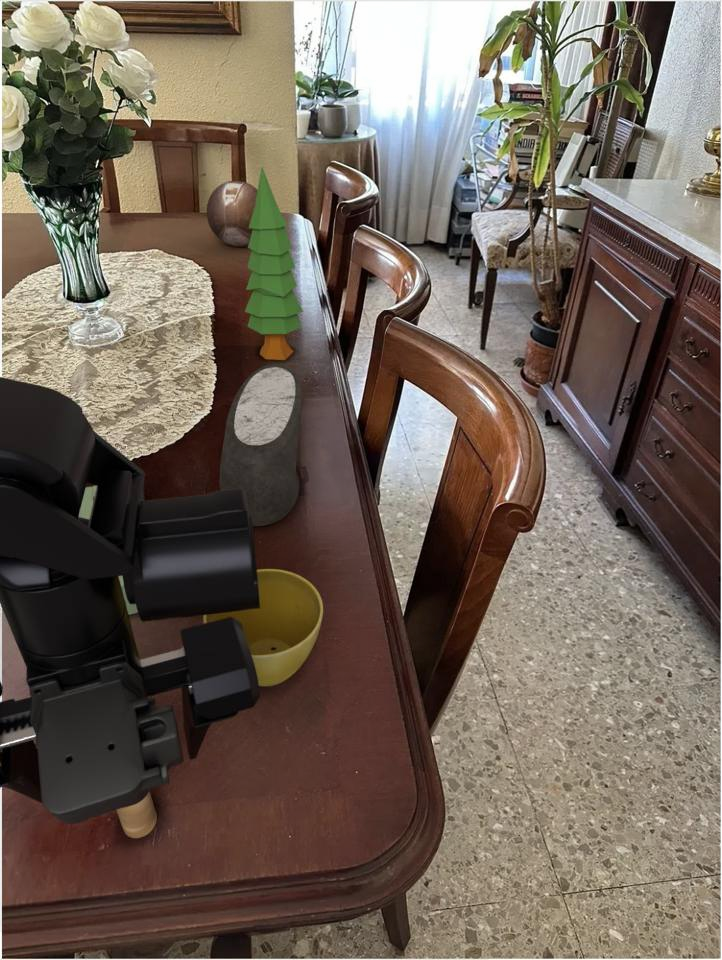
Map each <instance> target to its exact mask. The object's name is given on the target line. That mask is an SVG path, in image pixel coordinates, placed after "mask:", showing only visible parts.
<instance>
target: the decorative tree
mask: <svg viewBox="0 0 722 960" xmlns="http://www.w3.org/2000/svg"><path fill="white" fill-rule="evenodd" d="M260 168H261V169H260V174H259V179H258V185H257V190H258V191H257V197H256V203H255V208H254V211H253V215H252V218H251V221H250V225H249V228H253V231H252V234H251V238H250V241H249V245H248V246H247V248H248V249H249V250H251V252H250V256H249V260H248V262H247V263H248V264H247V269H248V270H251V274H250V276H249V279H248V281H247V282H248V283H247V286H246V288H245V291H252V292H251V295H250V298H249V299H248V302H247V305H246V307H245V309H244V312H245V313H247V314H250V316H249V319H248V324H247V328H249V329H251V330H253V331H255V332H256V333H259V334H260V335H264V342H263V345H262V346H261V347H260V351H259V355H260V356H261V357H262V358H263V359H265V360H276V361H277V360H279V361H285V360H287V359H288V358H289V357H290V356H291V355H292V354H293V353H294V350H293V348H291V347H290V345H289V344H288V342H287V341H286V337H285V335H287V334H289V333H291V332H293V331H296V330H297V329H300V328H301V327H302V324H301V321H300V318H299V316H298V314H301V313H303V312H304V310H303V308H302V306H301V304H300V302H299V300H298V298H297V296H296V294H295V292H294V289H295V288H296V287H297V286H298V285H297V282H296V280H295V278H294V275H293V273H292V270H294V269H296V266H295V263H294V259H293V258H292V256H291V255H292V254H291V252H290V250H292V249H293V246H292V244H291V240H290V237H289V235H288V233H287V230H286V227H288V226H289V225H288V223H287V221H286V219H285V217H284V215H283V213H282V211H281V210H280V207H279V205H278V203H277V201H276V198H275V195H274V193H273V191H272V188H271V184H270V183H269V180H268V178H267V175H266V172H265V170H264V168H263V166H261V167H260Z"/></svg>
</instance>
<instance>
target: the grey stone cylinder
mask: <svg viewBox="0 0 722 960" xmlns="http://www.w3.org/2000/svg"><path fill="white" fill-rule="evenodd" d="M302 408H303V389H302V383H301V380H300V378H299V376H298V373H296V371H295V370H294V369H293V368H291V367H290V366H288V365H285V364H281V363H272V364H271V363H270V364H267V365H264V366H262V367H260V368H258V369H256V370H255V371H253V372H252V373H251V374H250V375H249V376H248V377H247V378H246V379H245V380H244V382H243V383H242V385H241V386H240V388H239V389H238V391H237V392H236V394H235V396H234V398H233V401H232V403H231V406H230V408H229V411H228V414H227V418H226V424H225V430H224V438H223V443H222V450H221V457H220V467H219V491H221V490H230V489H243V490H245V491H246V499H247V508H248V516H252V523H253V527H264V526H269V525H272V524H275V523H277V522H280V521H281V520H282V519H284V518H286V516H288V514H289V513H290V512H291V511H292V509H293V508H294V507H295V506H296V502H297V501H298V498H299V495H300V494H299V493H300V477H299V475H298V472H297V461H298V451H299V450H298V447H299V437H300V428H301V419H302Z"/></svg>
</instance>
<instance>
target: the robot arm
mask: <svg viewBox="0 0 722 960" xmlns="http://www.w3.org/2000/svg"><path fill="white" fill-rule="evenodd" d="M83 411H84V410H83V408H82V406H81V405H79V404H78V403H77V402H76V401H74V400H73V398H72V397H69V396H67V395H66V394H64V393H62V392H60V391H58V390H56V389H54V388H50V387H46V386H44V385H39V384H35V383H30V382H26V381H22V380H21V381H20V380H15V379H11V378H7V377H2V376H0V606H1V610H2V611H3V614H4V616H5V619H6V621H7V624H8V626H9V629H10V631H11V633H12V636H13V639H14V641H15V643H16V646H17V648H18V650H19V652H20V655H21V658H22V660H23V662H24V665H25V667H26V671H25V672H26V673H25V674H26V675H25V682H26V684H27V686H28V688H29V695H30V696H29V697H25V698H22V699H18V700H15V699H14V698H10V699H6V700H3V701H0V789H1V788H4V789H5V788H6V789H7V790H8V789H9V790H11V791H13V792H16V793H18V794H21V795H23V796H25V797H27V798H29V799H32V800H34V801H36V802H38V803H40V804H42V805H43V807H44V809H45V810H46V811H47V812H48V813H50V814H51V815H53V816H54V817H55V818H57V819H58V820H59V821H60V822H62V823H64V824H67V825H76V824H80V823H83V822H85V821H88V820H90V819H92V818H96V817H99V816H101V815H102V816H103V815H104V814H105V815H106V814H107V813H111V812H114V811H116V810H117V809H120V808H124V807H129V806H132V805H135V804H137V803H139V802H140V801H142V800H143V799H144V798H145V797H146V796H147V794H148V793H149V791H150V790H151V789H154V788H156V787H160V786H163V785H166V784H169V783H170V777H169V770H170V769H171V768H172V767H175V766H179V765H182V764H183V763H184V761H185V759H184V754H183V748H182V743H181V736H180V732H179V728H178V727H179V726H178V723H177V716H176V712H175V708H174V706H173V705H172V704H167V705H165V706H157V705H156V700H155V697H154V696H156V695H159V694H163V693H166V692H167V693H168V692H171V691H173V690H178V689H181V700H182V701H181V702H182V720H183V733H184V738H185V742H186V743H185V744H186V748H187V753H188V757H189V760H191V761H192V760H195V759H196V758H197V756H198V754H199V751H200V749H201V746H202V744H203V743H204V740H205V737H206V735H207V733H208V730H209V728H210V727H211V725H213V724H215V723H219V722H222V721H225V720H229V719H231V718H234V717H236V716H237V715H238V713H239V712H242V711H244V710H248V709H252V708H254V707H255V705H256V704H257V702H258V701H259V699H260V698H261V693H260V686H259V683H258V677H257V673H256V668H255V665H254V662H253V659H252V655H251V652H250V649H249V646H248V643H247V639H246V636H245V633H244V630H243V627H242V624H241V623H240V622H239V621H237V620H236V619H234V618H232V617H227V618H223V619H219V620H215V621H211V622H208V623H204V622H203V623H201V624H196V625H193V626H188V627H185V628H181V629H179V633H180V637H181V641H182V642H181V643H182V647H181V648H179V649H175V650H171V651H169V652H164V653H161V654H156V655H153V656H150V657H145V658H142V659H141V657H140V654H139V653H140V652H139V650H138V646H137V643H136V637H135V634H134V630H133V627H132V622H131V619H130V615H128V611H127V607H126V603H125V599H124V595H123V592H122V588H121V584H120V580H119V576H123V582H124V588H125V593H126V597H127V599H128V602H129V603H130V604H136V607H137V611H138V613H137V614H138V616H139V618H140V621H141V622H142V623H147V622H160V621H168V620H175V619H183V618H191V617H200V616H203V615H209V614H218V613H226V612H234V611H242V610H251V609H259V608H260V599H259V588H258V577H257V570H258V569H257V568H258V567H257V556H256V546H255V536H254V526H253V523H252V516H248V508H247V499H246V491H245V490H243V489H230V490H221V491H220V490H216V491H214V492H210V493H206V494H200V495H189V496H188V495H187V496H178V497H169V498H168V497H167V498H154V499H146V497H145V492H144V488H145V480H146V479H145V478H146V472H145V471H144V469H142V468H141V467H139V466H138V465H137V464H136V463H135V462H133V461H132V460H131V459H130V458H129V457H127V456H126V455H125V454H123V453H122V452H120V451H119V450H118V449H117V448H116V447H114V446H113V445H112V444H111V443H109V442H108V441H107V440H106V439H104V438H103V437H102V436H101V435H99V434H98V433H97V432H95V430H94V429H93V427H92V425H91V423H90V421H89V420H88V419H87V416H86V415H85V413H84V412H83ZM88 483H89V484H91V485H93V486H97V488H96V492H95V497H94V501H93V506H92V510H91V515H90V519H85V518H81V517H79V513H80V509H81V505H82V501H83V497H84V493H85V489H86V487H87V485H88ZM3 691H4V686H3V684H2V682H1V681H0V698H1V697H2V696H3V693H4V692H3ZM152 696H153V697H152ZM34 740H35V741H34Z"/></svg>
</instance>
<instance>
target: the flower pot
mask: <svg viewBox="0 0 722 960" xmlns="http://www.w3.org/2000/svg"><path fill="white" fill-rule="evenodd" d="M257 577H258V588H259V599H260V608H259V609H251V610H242V611H234V612H226V613H218V614H209V615H202V617H203V618H202V619H203V624H204V623H208V622H211V621H215V620H219V619H223V618H227V617H232V618H234V619H236V620H237V621H239V622H240V623H241V624H242V627H243V630H244V633H245V636H246V639H247V643H248V646H249V649H250V652H251V655H252V659H253V662H254V665H255V668H256V673H257V677H258V683H259V687H272V686H273V687H274V686H276V685H280V684H281V683H283V682H285V681H287V680H289V678H290V677H292V676H293V675H294V674H295V673H296V672H297V671H298V670H299V669H300V668H301V666H302V665H303V664H304V663H305V661H306V660H307V659H308V657H309V655H310V654H311V652H312V650H313V648H314V647H315V644H316V641H317V639H318V636H319V632H320V630H321V626H322V622H323V615H324V604H323V603H324V602H323V599H322V597H321V594H320V593H319V591H318V590H317V588H316V587H315V586H314V585H313V584H312V583H311V582H310V581H309V580H308V579H306V578H304V577H303V576H301V575H299V574H296V573H294V572H292V571H288V570H284V569H276V568H261V569H257Z"/></svg>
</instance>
